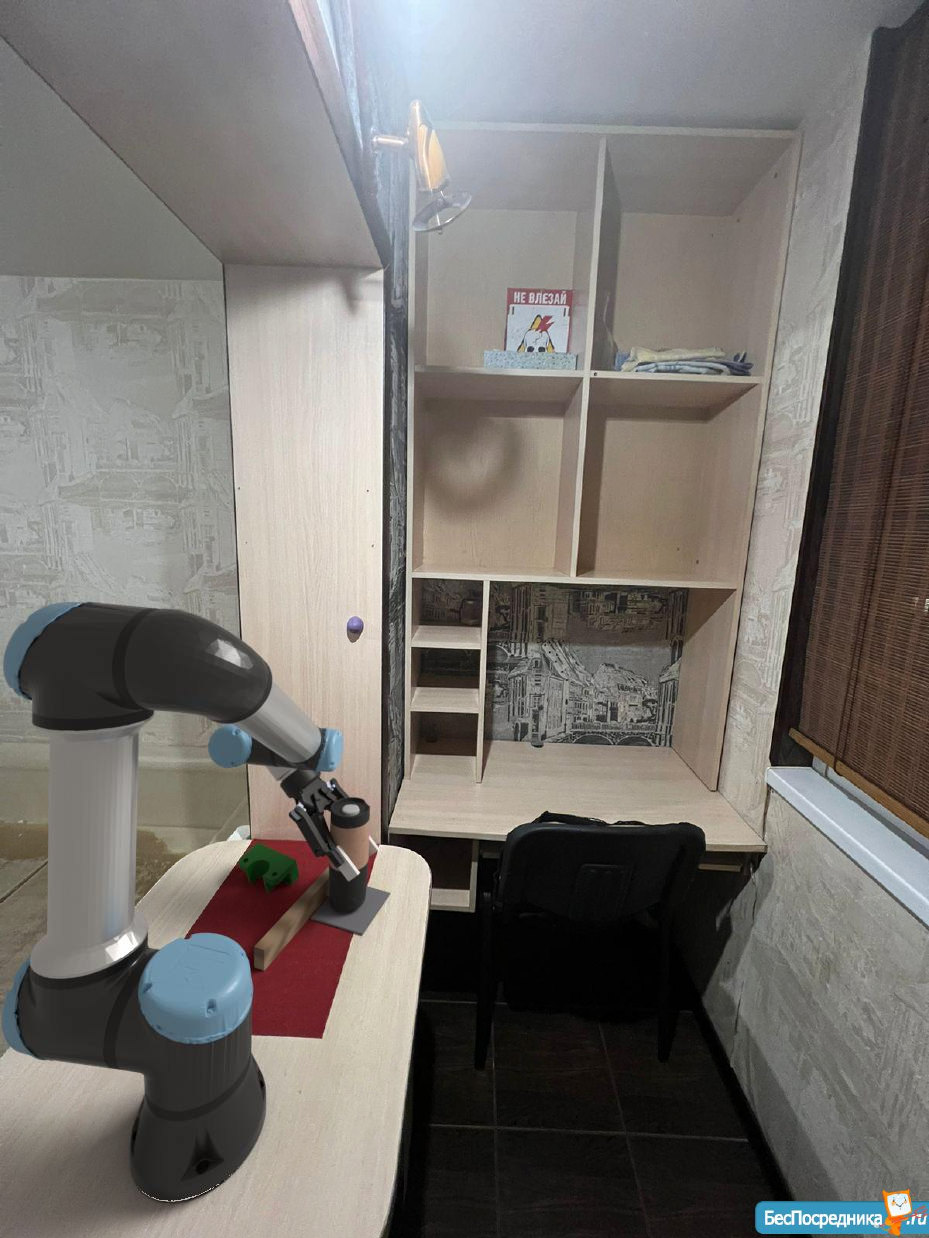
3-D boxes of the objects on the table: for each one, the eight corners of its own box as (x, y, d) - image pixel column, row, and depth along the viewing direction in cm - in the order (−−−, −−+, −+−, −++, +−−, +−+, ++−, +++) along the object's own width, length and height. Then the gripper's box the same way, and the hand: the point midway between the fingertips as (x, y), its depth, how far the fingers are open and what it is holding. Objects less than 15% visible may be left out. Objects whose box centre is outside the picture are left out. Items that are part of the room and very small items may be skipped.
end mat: (362, 935, 97) (362, 933, 97) (311, 919, 100) (311, 917, 100) (390, 894, 109) (390, 892, 109) (343, 880, 112) (343, 879, 112)
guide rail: (264, 970, 88) (264, 950, 88) (254, 967, 89) (254, 946, 88) (341, 880, 112) (341, 863, 111) (333, 877, 112) (333, 861, 112)
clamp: (250, 897, 111) (230, 862, 110) (272, 876, 116) (253, 842, 115) (285, 900, 105) (264, 863, 103) (306, 878, 110) (286, 842, 108)
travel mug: (321, 909, 101) (323, 814, 98) (336, 883, 109) (339, 794, 105) (359, 915, 100) (363, 819, 97) (371, 889, 108) (375, 799, 104)
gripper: (312, 760, 115) (375, 845, 113) (248, 804, 96) (323, 907, 94) (333, 742, 112) (399, 828, 111) (273, 783, 93) (350, 888, 91)
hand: (364, 864), depth 102 cm, fingers closed on travel mug, 7 cm apart
